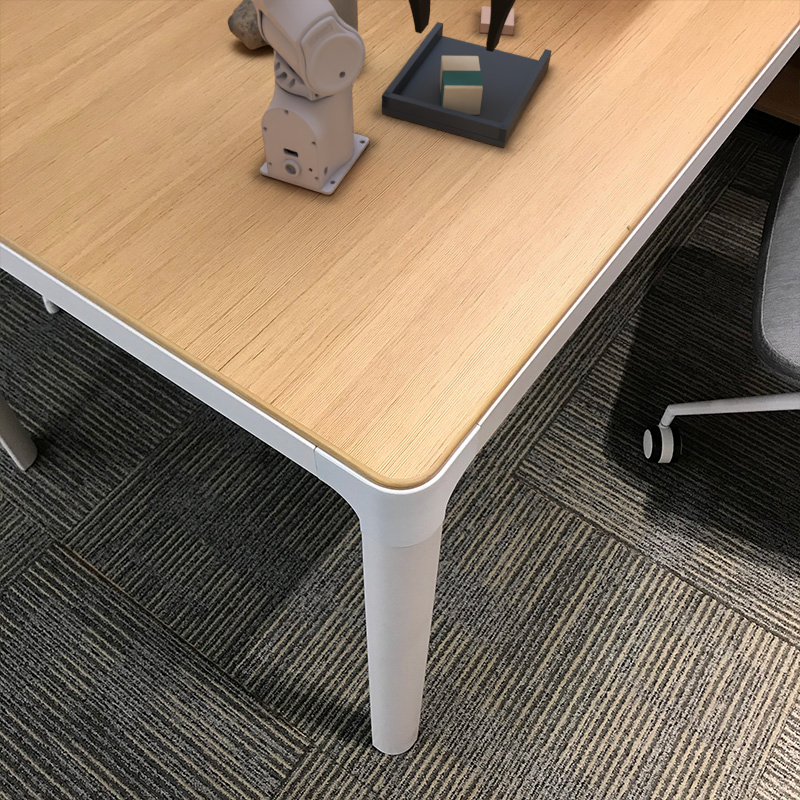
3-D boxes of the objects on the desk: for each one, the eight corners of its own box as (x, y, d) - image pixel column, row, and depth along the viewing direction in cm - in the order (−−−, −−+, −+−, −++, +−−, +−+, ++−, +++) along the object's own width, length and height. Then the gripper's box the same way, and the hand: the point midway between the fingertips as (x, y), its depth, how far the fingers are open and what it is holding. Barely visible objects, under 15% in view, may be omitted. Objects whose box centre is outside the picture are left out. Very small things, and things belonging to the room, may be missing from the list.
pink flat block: (512, 35, 93) (514, 25, 92) (479, 32, 93) (480, 23, 92) (513, 17, 95) (514, 8, 94) (480, 15, 95) (481, 5, 94)
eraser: (475, 82, 85) (478, 55, 83) (480, 115, 82) (483, 88, 79) (439, 82, 85) (441, 55, 83) (441, 115, 82) (444, 87, 79)
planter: (314, 59, 89) (307, -33, 80) (351, 52, 90) (348, -39, 81) (326, 81, 86) (320, -11, 78) (364, 74, 87) (362, -18, 79)
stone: (329, 42, 92) (293, -22, 90) (333, 28, 87) (295, -40, 85) (258, 84, 92) (221, 20, 90) (259, 72, 86) (219, 5, 84)
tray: (503, 148, 80) (506, 129, 78) (381, 113, 83) (381, 94, 81) (548, 69, 89) (551, 50, 87) (435, 40, 92) (437, 21, 90)
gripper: (563, -115, 67) (537, 34, 78) (411, -147, 70) (406, 2, 81) (540, -82, 63) (515, 70, 74) (379, -117, 66) (379, 34, 77)
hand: (456, 37), depth 78 cm, fingers open, 7 cm apart
